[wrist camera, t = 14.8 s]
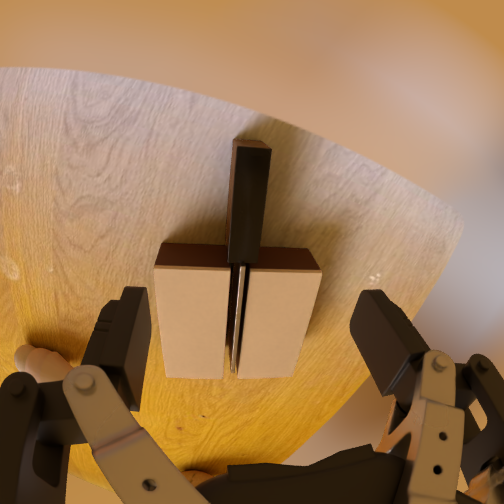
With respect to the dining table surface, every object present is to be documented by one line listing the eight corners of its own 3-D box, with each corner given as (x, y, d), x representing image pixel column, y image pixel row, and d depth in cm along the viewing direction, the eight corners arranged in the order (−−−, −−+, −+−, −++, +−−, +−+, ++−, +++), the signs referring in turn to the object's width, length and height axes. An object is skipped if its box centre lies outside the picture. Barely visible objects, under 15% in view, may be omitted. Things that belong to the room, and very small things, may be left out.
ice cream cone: (94, 422, 26) (4, 376, 25) (110, 409, 32) (26, 371, 31) (99, 378, 28) (7, 335, 27) (115, 369, 34) (31, 333, 33)
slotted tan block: (161, 242, 26) (153, 268, 22) (308, 248, 29) (323, 272, 25) (169, 348, 33) (166, 377, 29) (284, 349, 35) (292, 376, 31)
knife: (233, 138, 23) (237, 146, 18) (262, 141, 23) (273, 149, 19) (219, 340, 33) (221, 373, 29) (239, 340, 33) (244, 373, 29)
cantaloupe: (237, 472, 57) (243, 524, 44) (192, 482, 59) (195, 528, 46) (197, 458, 50) (201, 519, 37) (152, 467, 53) (151, 520, 40)
